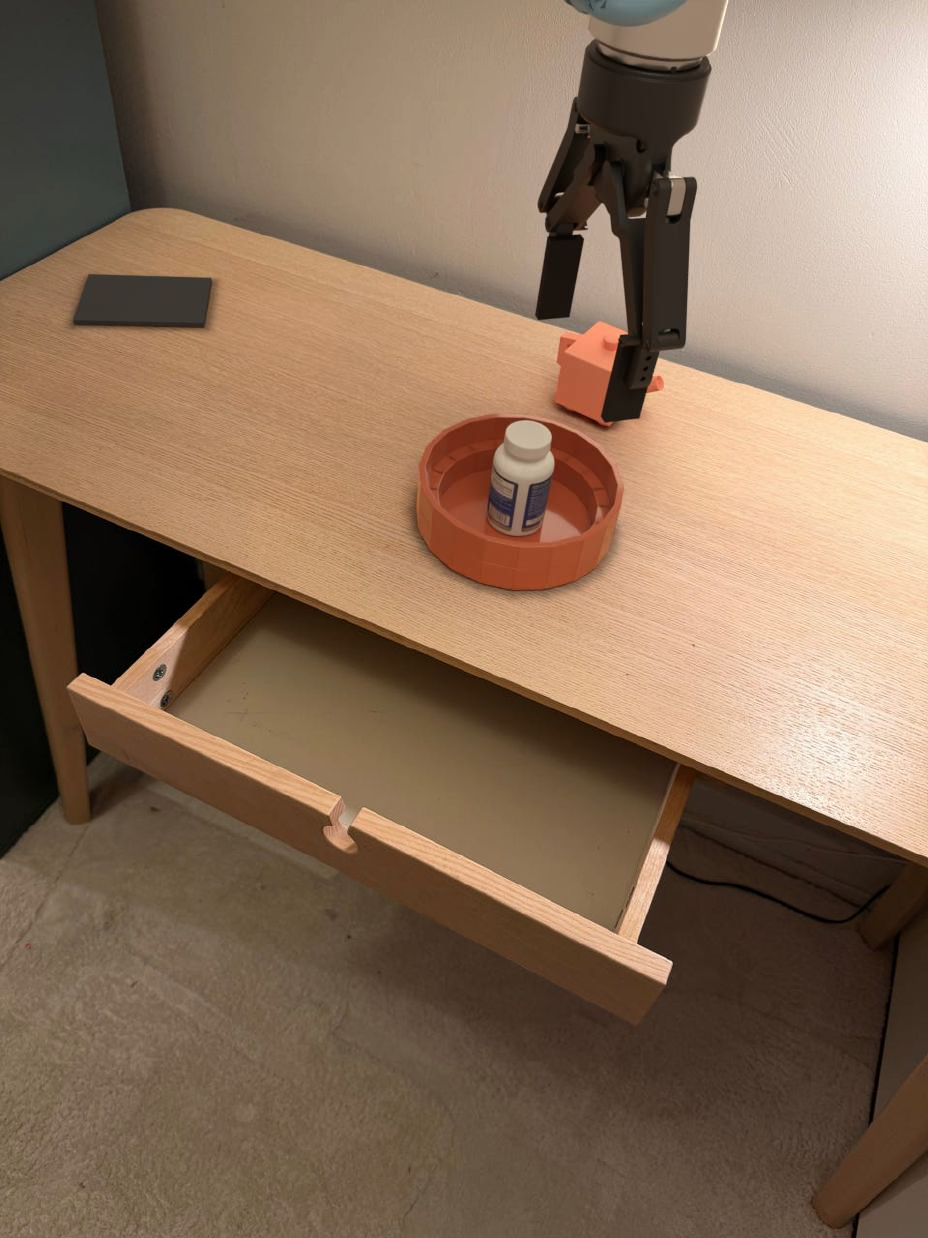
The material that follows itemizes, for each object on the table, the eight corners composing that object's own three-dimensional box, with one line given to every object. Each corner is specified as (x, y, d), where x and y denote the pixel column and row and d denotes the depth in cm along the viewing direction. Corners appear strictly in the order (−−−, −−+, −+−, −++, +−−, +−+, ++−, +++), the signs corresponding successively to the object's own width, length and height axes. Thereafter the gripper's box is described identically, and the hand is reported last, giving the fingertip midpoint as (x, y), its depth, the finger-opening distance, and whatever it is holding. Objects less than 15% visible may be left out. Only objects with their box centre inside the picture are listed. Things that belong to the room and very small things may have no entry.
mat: (74, 324, 100) (72, 319, 100) (89, 278, 107) (88, 273, 106) (204, 327, 102) (203, 322, 102) (212, 281, 109) (211, 277, 108)
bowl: (423, 593, 78) (426, 547, 74) (411, 458, 90) (413, 412, 86) (629, 590, 80) (643, 546, 76) (590, 459, 92) (601, 414, 88)
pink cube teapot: (634, 446, 94) (653, 378, 88) (535, 401, 98) (547, 333, 92) (666, 411, 99) (686, 344, 92) (570, 370, 102) (584, 303, 96)
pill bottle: (540, 500, 87) (557, 416, 79) (545, 539, 83) (562, 455, 76) (484, 497, 86) (495, 412, 79) (486, 537, 83) (498, 451, 76)
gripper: (819, 131, 46) (703, 460, 62) (623, -18, 62) (569, 277, 77) (688, 136, 44) (602, 474, 60) (519, -19, 60) (486, 283, 76)
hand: (583, 364), depth 69 cm, fingers open, 13 cm apart
